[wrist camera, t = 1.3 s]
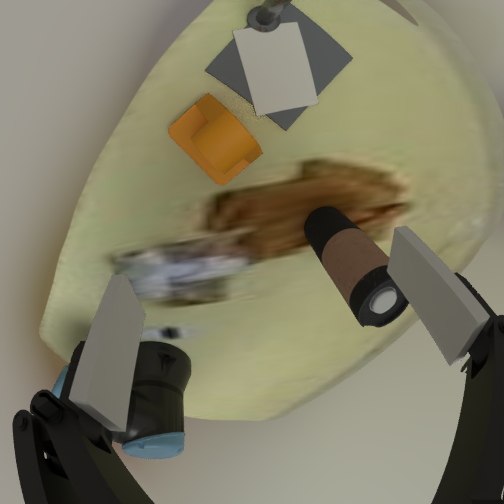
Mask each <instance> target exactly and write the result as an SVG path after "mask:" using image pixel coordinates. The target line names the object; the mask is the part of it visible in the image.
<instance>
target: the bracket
mask: <svg viewBox="0 0 504 504" xmlns="http://www.w3.org/2000/svg"><path fill="white" fill-rule="evenodd" d="M168 133H169V135H170V137H171V138H172V139H173V140H174V141H175V142H176V143H177V144H178V145H179V146H180V147H181V148H182V149H183V150H184V151H185V152H186V153H187V154H188V155H189V156H190V157H191V158H192V159H193V160H194V161H195V162H196V163H197V164H198V165H199V166H200V167H201V168H202V169H203V170H204V171H205V172H206V173H207V174H208V175H209V176H210V178H211V179H212V180H213V181H214V182H215V183H216V184H218V185H225V184H227V183H228V182H229V181H230V180H231V179H232V178H234V177H235V176H236V175H237V174H238V173H240V172H241V171H242V170H243V169H244V168H246V167H247V166H248V165H249V164H250V163H252V162H253V161H254V160H255V159H257V158H258V157H259V156H260V155H261V154H263V153H262V150H261V148H260V146H259V144H258V143H257V141H256V140H255V139H254V138H253V136H252V135H251V134H250V133H249V132H248V131H247V129H246V128H245V127H244V126H243V125H242V124H241V123H240V122H239V121H238V119H237V118H236V117H235V116H234V115H233V114H232V113H231V112H230V111H229V110H228V109H227V108H225V107H224V106H223V105H222V104H221V103H220V102H219V101H217V100H216V99H215V98H214V97H213V96H212V95H210V94H209V93H208V94H206V95H205V96H204V97H203V98H202V99H200V100H199V101H198V102H197V103H196V104H194V105H193V106H192V107H191V108H190V109H189V110H188V111H187V112H185V113H184V114H183V115H182V116H181V117H180V118H179V119H178V120H177V121H176V122H174V123H173V124H172V125H171V126H170V128H169V131H168Z"/></svg>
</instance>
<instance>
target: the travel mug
mask: <svg viewBox="0 0 504 504" xmlns="http://www.w3.org/2000/svg"><path fill="white" fill-rule="evenodd" d="M305 235H306V237H307V239H308V241H309V243H310V245H311V246H312V248H313V250H314V251H315V253H316V255H317V256H318V258H319V260H320V262H321V263H322V265H323V267H324V268H325V270H326V271H327V273H328V275H329V276H330V278H331V279H332V281H333V282H334V284H335V285H336V287H337V288H338V290H339V292H340V293H341V295H342V296H343V298H344V299H345V301H346V303H347V304H348V306H349V307H350V309H351V311H352V312H353V314H354V315H355V317H356V319H357V320H358V322H359V323H360V325H361V326H362V327H364V326H375V327H383V326H385V325H387V324H389V323H391V322H392V321H394V320H395V319H396V318H397V317H399V316H400V315H401V314H402V312H403V311H404V310H405V309H406V307H407V306H408V304H409V301H408V300H407V299H406V297H405V296H404V294H403V293H402V292H401V290H400V289H399V287H398V286H397V285H396V283H395V282H394V281H393V279H392V278H391V276H390V275H389V274H388V272H387V268H388V263H389V257H388V256H387V255H386V254H385V253H384V252H383V251H382V250H381V249H380V248H379V247H378V246H377V245H376V244H375V243H374V242H373V241H372V240H371V239H370V238H369V237H368V236H367V235H366V234H365V233H364V232H363V231H362V230H361V229H360V228H359V227H357V226H356V225H355V224H354V223H353V222H352V221H350V220H349V219H348V218H347V217H346V216H345V215H343V214H342V213H341V212H340V211H338V210H337V209H335V208H333V207H322V208H319V209H317V210H315V211H314V212H312V213H311V214H310V216H309V217H308V219H307V221H306V223H305Z"/></svg>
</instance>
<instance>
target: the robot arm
mask: <svg viewBox="0 0 504 504" xmlns="http://www.w3.org/2000/svg"><path fill="white" fill-rule="evenodd" d="M387 272H388V274H389V275H390V276H391V278H392V279H393V281H394V282H395V283H396V285H397V286H398V287H399V289H400V290H401V292H402V293H403V294H404V296H405V297H406V299H407V300H408V301H409V303H410V304H411V306H412V307H413V309H414V310H415V312H416V313H417V315H418V316H419V318H420V319H421V321H422V322H423V324H424V325H425V327H426V328H427V330H428V331H429V333H430V335H431V336H432V338H433V339H434V341H435V343H436V344H437V346H438V347H439V349H440V350H441V352H442V354H443V356H444V357H445V359H446V361H447V363H448V364H449V366H452V365H454V364H456V363H458V362H459V361H461V360H462V359H463V358H464V356H465V355H466V354H467V352H469V354H470V357H469V359H468V360H467V362H466V363H465V364H464V366H463V367H462V369H461V372H463V371H464V370H465V368H466V367H467V371H466V372H465V373H467V375H466V383H465V391H464V397H463V402H462V407H461V413H460V417H459V422H458V427H457V431H456V435H455V438H454V442H453V446H452V449H451V452H450V456H449V459H448V462H447V465H446V468H445V471H444V474H443V476H442V479H441V482H440V484H439V487H438V489H437V492H436V494H435V497H434V499H433V501H432V503H431V504H504V493H503V500H502V499H501V494H502V490H503V487H504V315H499V316H497V315H496V314H495V313H494V312H493V310H492V309H491V308H490V307H489V306H488V304H487V303H486V302H485V300H484V299H483V298H482V297H481V296H480V294H479V293H477V291H476V290H475V289H474V288H472V285H471V284H470V283H469V282H468V281H467V279H466V278H464V277H463V276H461V275H460V274H458V273H457V272H456V273H453V272H452V271H451V270H450V269H449V267H448V266H447V265H446V264H445V263H444V262H443V261H442V260H441V259H440V258H439V257H438V256H437V255H436V254H435V253H434V252H433V251H432V250H431V249H430V248H429V247H428V246H427V245H426V244H425V243H424V242H423V241H422V240H421V239H420V238H419V237H418V236H417V235H416V234H415V233H414V232H413V231H412V230H411V229H410V228H408V227H407V226H401V227H395V229H394V235H393V241H392V247H391V253H390V258H389V263H388V268H387ZM145 316H146V314H145V312H144V310H143V308H142V306H141V304H140V302H139V300H138V298H137V296H136V294H135V292H134V290H133V288H132V286H131V284H130V282H129V280H128V278H127V276H126V274H119V275H113V276H112V277H111V279H110V281H109V284H108V286H107V288H106V291H105V293H104V295H103V298H102V300H101V303H100V305H99V308H98V310H97V313H96V315H95V318H94V321H93V323H92V326H91V329H90V331H89V334H88V337H87V340H86V341H81V342H80V343H79V344H78V346H77V347H76V348H75V350H74V352H73V355H72V358H71V363H70V364H68V365H66V366H65V367H64V368H63V370H62V372H61V373H60V375H59V377H58V379H57V381H56V383H55V385H54V387H53V389H52V392H50V391H48V390H41V391H39V392H37V393H36V394H35V395H34V397H33V399H32V401H31V404H30V412H31V413H32V414H33V415H32V414H31V413H29V412H28V411H27V410H20V411H18V412H17V413H16V415H15V416H14V419H13V439H14V448H15V456H16V463H17V469H18V474H19V480H20V485H21V489H22V493H23V498H24V501H25V504H154V502H153V501H152V500H151V499H150V498H149V497H148V495H147V494H146V493H145V492H144V491H143V489H142V488H141V487H140V485H139V484H138V483H137V481H136V480H135V479H134V478H133V476H132V475H131V473H130V472H129V471H128V469H127V468H126V466H125V465H124V464H123V462H122V461H121V459H120V458H119V456H118V455H117V453H116V452H115V450H114V449H113V447H112V441H114V442H117V443H120V444H122V449H123V451H124V453H125V454H128V455H130V456H133V457H138V458H145V459H165V458H171V457H175V456H177V455H179V454H180V453H181V452H182V451H183V449H184V436H185V433H184V407H183V393H184V391H185V388H186V386H187V383H188V381H189V378H190V376H191V361H190V359H189V357H188V356H187V355H186V354H185V353H184V352H183V351H181V350H180V349H178V348H176V347H174V346H171V345H168V344H165V343H160V342H144V343H140V339H141V334H142V329H143V325H144V320H145ZM44 452H45V453H46V455H47V459H45V457H44Z"/></svg>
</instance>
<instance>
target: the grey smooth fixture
mask: <svg viewBox="0 0 504 504" xmlns="http://www.w3.org/2000/svg"><path fill="white" fill-rule="evenodd" d="M291 1H292V0H265V1H264V3H263V5H262V6H258V7H255V8H253V9H252V10H251V11H250V12H249V14H248V17H247V21H248V24H249V25H250V27H252V28H253V29H254V30H256V31H258V32H263V33H268V32H272V31H274V30H275V29H277V28H278V27H279V25H280V23H281V17H280V15H279V14H280V13H281V12H282V11H283V10H284V9H285V8H286V7H287V5H288V4H289V3H290V2H291Z"/></svg>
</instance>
